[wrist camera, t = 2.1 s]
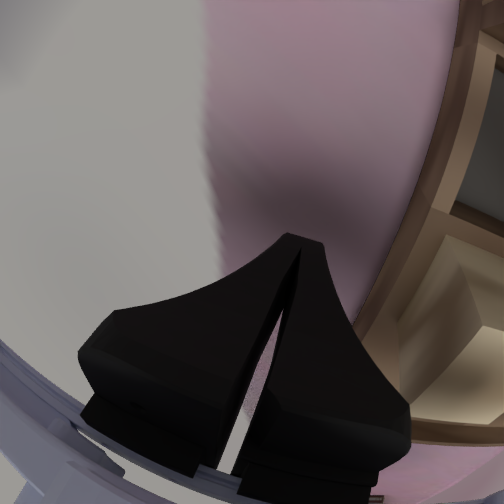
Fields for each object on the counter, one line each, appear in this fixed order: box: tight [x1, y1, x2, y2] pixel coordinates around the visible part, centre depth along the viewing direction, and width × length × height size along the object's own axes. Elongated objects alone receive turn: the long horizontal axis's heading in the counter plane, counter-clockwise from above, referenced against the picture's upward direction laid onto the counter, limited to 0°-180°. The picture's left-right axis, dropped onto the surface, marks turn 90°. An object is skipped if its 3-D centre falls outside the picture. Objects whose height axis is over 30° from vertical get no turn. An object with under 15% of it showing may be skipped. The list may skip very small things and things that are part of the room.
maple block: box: [397, 235, 504, 424], centre depth 8 cm, size 4×4×4 cm
